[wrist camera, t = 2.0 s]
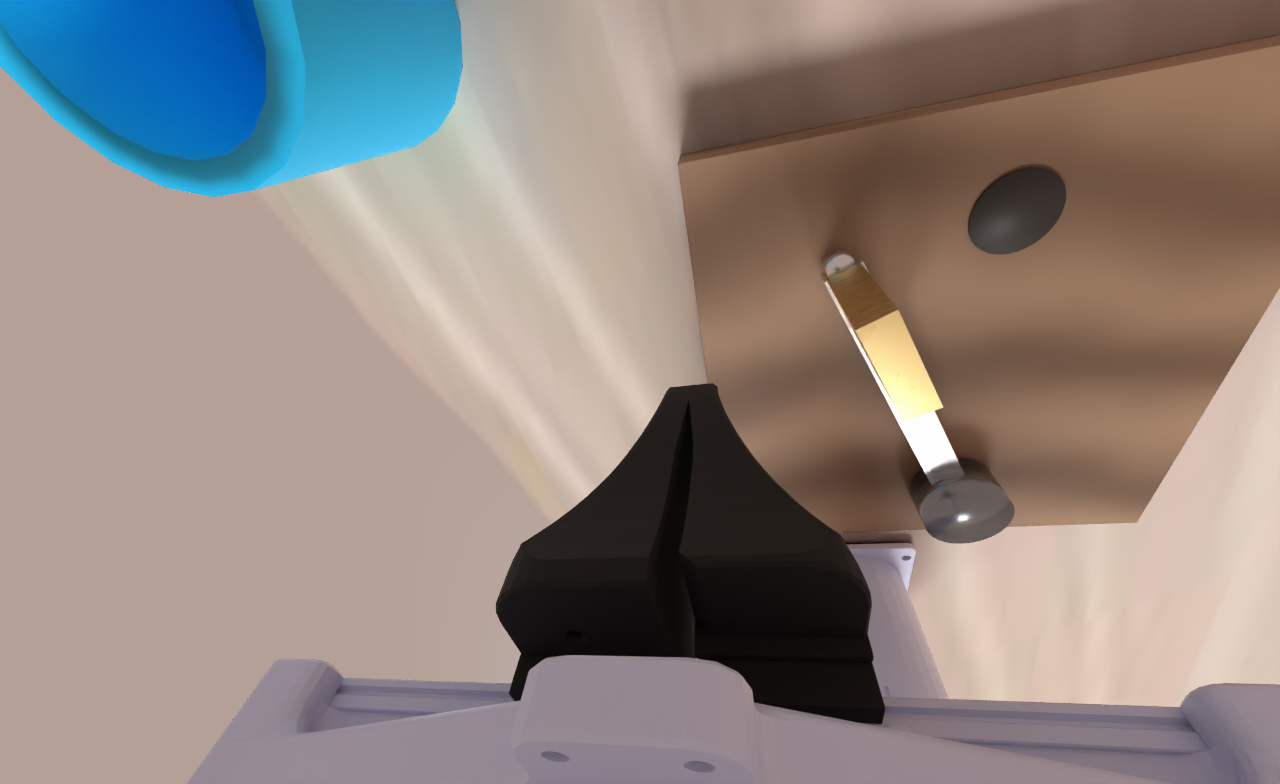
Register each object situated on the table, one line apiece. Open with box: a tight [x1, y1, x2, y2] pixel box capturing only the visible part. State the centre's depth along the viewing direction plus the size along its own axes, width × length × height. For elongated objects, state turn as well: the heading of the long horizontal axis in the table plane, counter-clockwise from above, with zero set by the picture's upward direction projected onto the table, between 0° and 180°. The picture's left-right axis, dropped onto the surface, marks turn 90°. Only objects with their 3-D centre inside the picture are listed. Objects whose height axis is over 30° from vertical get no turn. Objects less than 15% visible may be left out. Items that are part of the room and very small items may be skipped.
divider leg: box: [820, 249, 1015, 543], centre depth 18 cm, size 16×4×5 cm, turn 36°
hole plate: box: [678, 35, 1280, 532], centre depth 20 cm, size 20×20×2 cm
